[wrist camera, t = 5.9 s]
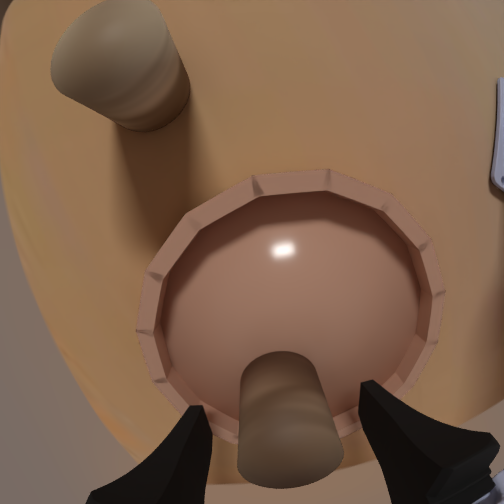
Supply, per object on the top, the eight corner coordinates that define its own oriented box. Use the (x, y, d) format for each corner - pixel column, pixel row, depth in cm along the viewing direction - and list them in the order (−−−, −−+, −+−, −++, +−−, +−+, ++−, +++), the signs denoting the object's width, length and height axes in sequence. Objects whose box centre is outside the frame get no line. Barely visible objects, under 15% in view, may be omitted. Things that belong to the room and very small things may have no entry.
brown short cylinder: (315, 344, 13) (346, 422, 8) (318, 402, 14) (341, 478, 9) (233, 357, 13) (227, 440, 8) (247, 413, 14) (247, 492, 9)
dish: (456, 230, 13) (478, 236, 11) (357, 434, 16) (365, 453, 14) (190, 135, 12) (180, 126, 10) (138, 394, 15) (128, 415, 13)
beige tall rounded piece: (198, 58, 11) (178, -8, 6) (180, 134, 12) (143, 97, 7) (122, 58, 11) (74, 5, 6) (103, 130, 12) (37, 103, 6)
